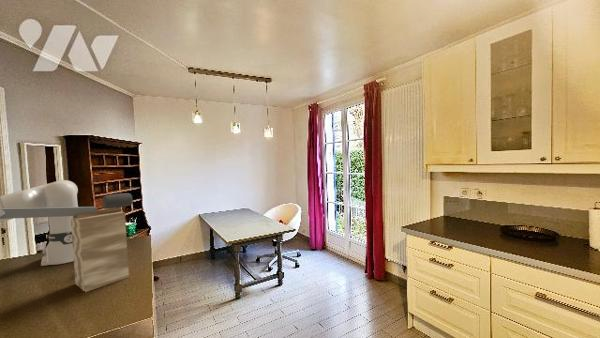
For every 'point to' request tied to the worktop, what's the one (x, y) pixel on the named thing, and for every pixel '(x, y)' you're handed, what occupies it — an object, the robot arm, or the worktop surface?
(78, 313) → the worktop surface
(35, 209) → the grey bar
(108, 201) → the rubber mallet
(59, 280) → the worktop surface
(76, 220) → the tan streaked block
